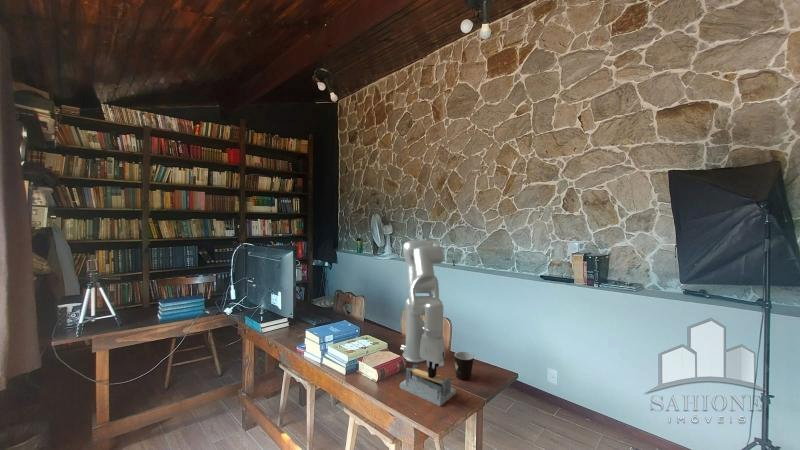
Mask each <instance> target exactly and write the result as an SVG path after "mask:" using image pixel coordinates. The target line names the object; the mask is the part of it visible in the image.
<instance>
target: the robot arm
mask: <svg viewBox="0 0 800 450" xmlns="http://www.w3.org/2000/svg"><path fill="white" fill-rule="evenodd" d="M402 247H403V249H402V252H403V258H404V261H405V263H406V268H407V272H406V275H407V277H406V278H407V289H408V297H407V298H406V299H405V301H404V309H405V320H406V321H405V322H406V323H405V324H406V325H405V344H401V346H400V351H403V353H402V354H401V357H402V356H403V357H404V358H405V359H406V360H405V361H406V362H409V363H413V364H416V363H422V362H425V363H426V368H427V367H428V368H427V372H428V377H431V378H433V377H435V376H437V368H438V367H444V366H445V360H446V340H445V337H444V335H443V334H444V332H443V331H444V305H443V302H442V301H441V299H440V289H439V288H440V287H439V285H440V284H439V280H438V278H437V276H436V275H435V270H434V264H442V263H443V262H444V257H445V255H444V250H443V247H441V245H440V244H439V243H438V242H437V241H434V240H408V241H406V242H404V243H403V245H402ZM416 294H428V295H416ZM421 316H424V319H422V317H421ZM403 357H402V358H403Z"/></svg>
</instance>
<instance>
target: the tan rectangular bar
mask: <svg viewBox="0 0 800 450" xmlns="http://www.w3.org/2000/svg"><path fill="white" fill-rule="evenodd" d="M411 369H412V375H413V374H415V375H418V376H420V377H423V378H426V379H429V380H432V381H434V382H437V383H440V384H443V381H444V380H445V379H446V378H444V377H441V376H438V375H436V376H435V377H433V378H431V377H428V373H427V372H428V371H426V372H424V371H425V370H423V371H422V370H421V369H419V370H418V369H416V368H415V367H414V368H413V367H412V368H411Z"/></svg>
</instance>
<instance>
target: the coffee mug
mask: <svg viewBox="0 0 800 450" xmlns="http://www.w3.org/2000/svg"><path fill="white" fill-rule="evenodd" d="M474 357H475V356H474V355H473V354H472V353H471V352H467V351H457V352H455V353H454V365H455V376H456V377H455V378H456V379H458V380H459V381H463V382H467V381H470V380H471V378H472V370H473V364H474Z"/></svg>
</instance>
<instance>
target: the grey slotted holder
mask: <svg viewBox="0 0 800 450" xmlns="http://www.w3.org/2000/svg"><path fill="white" fill-rule="evenodd" d="M414 367H415V368H416V369H418V370H420V368H419V367H420V365H418V364H416V363H413V364H412V368H414ZM412 368H410V367H406V368H405V369H406V370H405V371H406V372H405V379H404V380H403V381H401V382H400V383H399V389H401V390H403V391H406V392H407V393H410V394H412V395H415V396H416V397H419V398H421V399H423V400H425V401H426V402H430V403H431V404H434V405H435V406H438V407H441V406H443V404H445V403H446V402H447V401H448V400H450V399H451V398H452V397H454V396H455V395H456V390H457V389H456V388H454V387H452V377H450V376H449V377H447V378H445V380H444V381H443V384H440V383H437V382H434V381H432V380H429V379H426V378H423V377H420V376H418V375H415V374H412ZM421 371H424V372H427V373H428V371H426V370H423V369H422V370H421Z"/></svg>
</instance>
